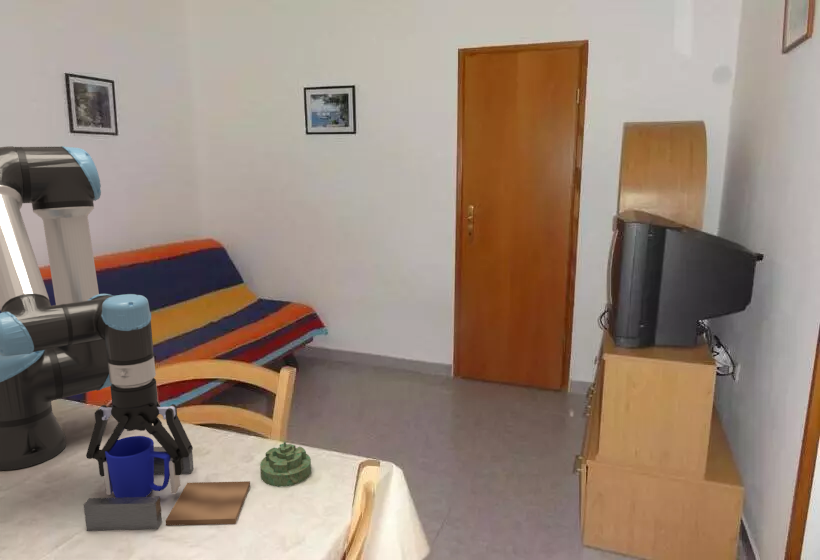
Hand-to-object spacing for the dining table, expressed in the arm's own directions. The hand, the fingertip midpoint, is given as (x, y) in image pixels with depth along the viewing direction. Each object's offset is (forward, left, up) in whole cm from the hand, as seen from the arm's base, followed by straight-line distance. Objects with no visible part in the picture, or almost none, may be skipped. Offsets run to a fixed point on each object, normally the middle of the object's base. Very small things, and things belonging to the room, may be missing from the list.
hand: (143, 490), depth 112 cm
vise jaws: (-1, 0, -1) cm, 2 cm away
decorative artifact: (-7, +25, -2) cm, 26 cm away
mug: (0, 0, -1) cm, 1 cm away
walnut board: (+3, +13, -1) cm, 14 cm away
